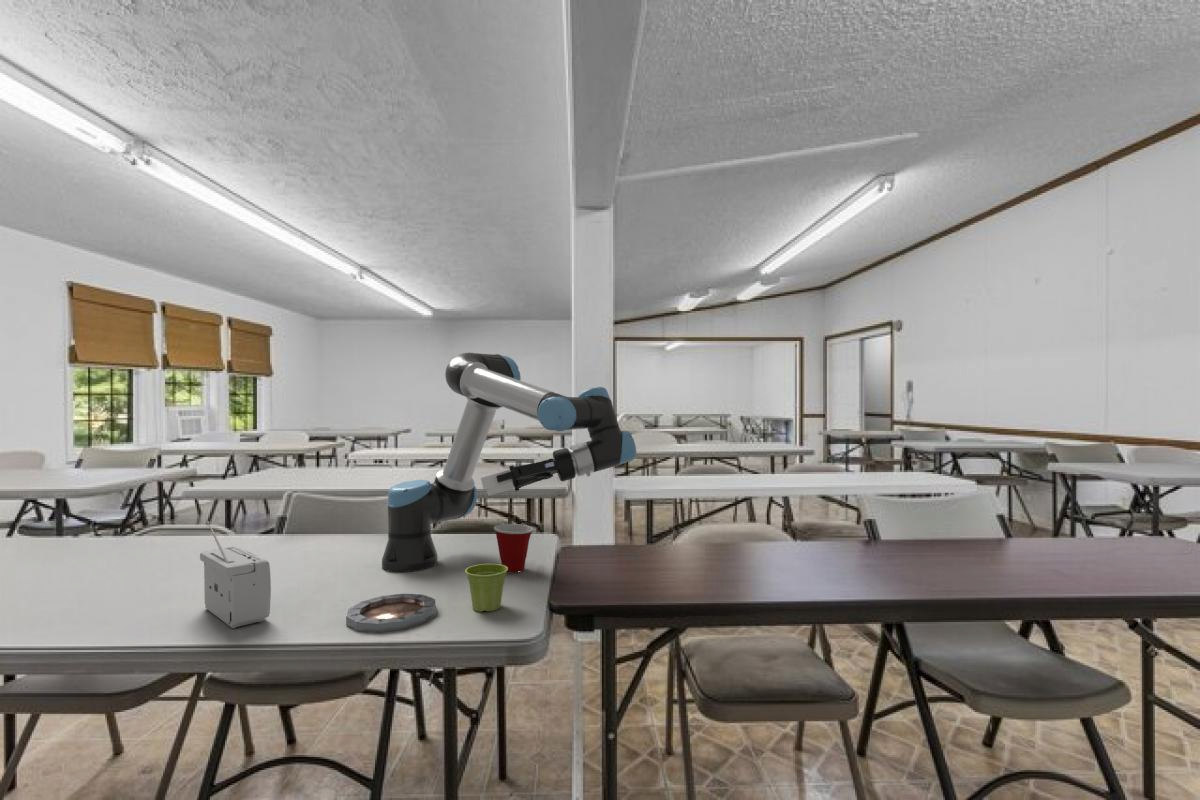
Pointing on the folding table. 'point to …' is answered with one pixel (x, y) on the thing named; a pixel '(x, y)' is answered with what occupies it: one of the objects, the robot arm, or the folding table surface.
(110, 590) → the folding table surface
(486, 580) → the plant pot
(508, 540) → the plastic cup
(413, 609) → the steel ring
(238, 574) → the stereo radio cassette player
